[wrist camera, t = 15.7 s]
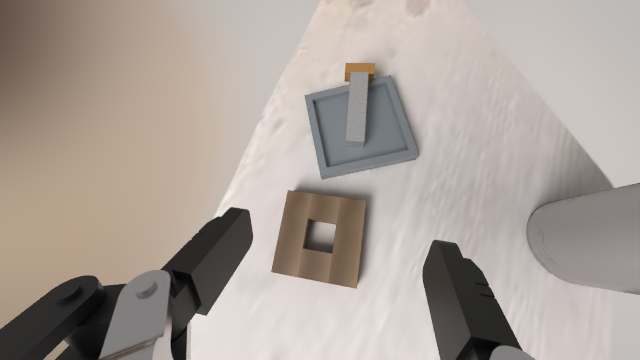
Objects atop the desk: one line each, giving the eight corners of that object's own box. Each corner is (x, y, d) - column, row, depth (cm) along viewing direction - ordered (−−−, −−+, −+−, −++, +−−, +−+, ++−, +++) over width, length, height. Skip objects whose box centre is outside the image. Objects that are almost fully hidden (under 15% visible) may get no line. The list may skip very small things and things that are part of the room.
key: (368, 148, 31) (372, 73, 33) (370, 142, 29) (375, 62, 31) (339, 146, 31) (345, 72, 34) (339, 140, 29) (345, 61, 31)
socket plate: (364, 203, 29) (366, 200, 28) (355, 285, 27) (356, 288, 25) (291, 193, 31) (288, 190, 29) (276, 270, 28) (271, 271, 26)
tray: (388, 82, 34) (390, 75, 33) (415, 159, 30) (419, 154, 29) (306, 101, 35) (304, 95, 34) (321, 179, 31) (320, 176, 30)
